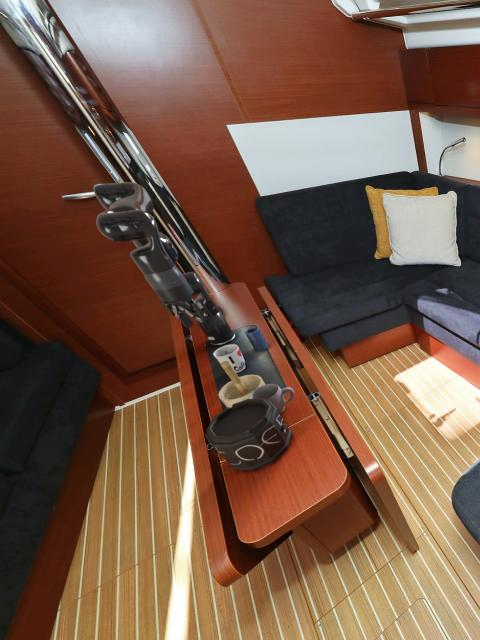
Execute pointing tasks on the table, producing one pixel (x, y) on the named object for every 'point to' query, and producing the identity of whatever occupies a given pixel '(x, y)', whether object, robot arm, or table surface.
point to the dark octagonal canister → (249, 434)
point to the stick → (234, 378)
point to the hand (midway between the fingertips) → (200, 328)
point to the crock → (256, 339)
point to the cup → (231, 356)
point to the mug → (273, 395)
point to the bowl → (233, 395)
